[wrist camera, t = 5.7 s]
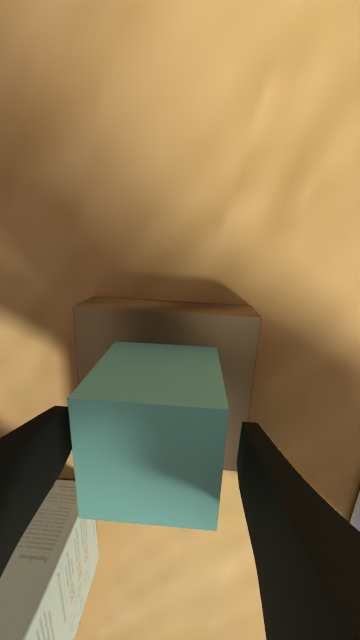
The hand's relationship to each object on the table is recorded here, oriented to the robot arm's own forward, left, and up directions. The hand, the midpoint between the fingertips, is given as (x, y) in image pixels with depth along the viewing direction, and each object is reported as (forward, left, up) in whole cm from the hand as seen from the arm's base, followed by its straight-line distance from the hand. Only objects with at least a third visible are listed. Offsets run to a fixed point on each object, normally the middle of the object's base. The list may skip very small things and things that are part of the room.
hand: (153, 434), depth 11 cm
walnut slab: (0, 0, -6) cm, 6 cm away
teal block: (0, 0, -3) cm, 3 cm away
